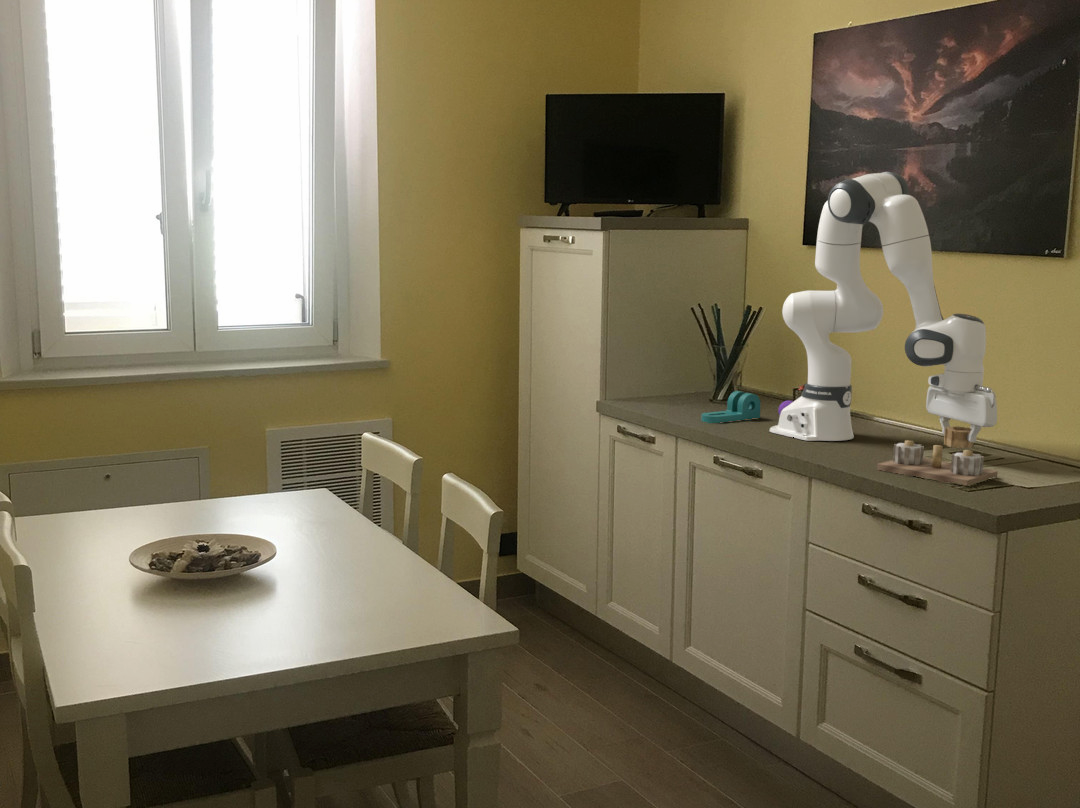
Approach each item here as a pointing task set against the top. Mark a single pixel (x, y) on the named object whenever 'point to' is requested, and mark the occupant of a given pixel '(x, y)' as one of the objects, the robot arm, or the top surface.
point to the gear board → (934, 472)
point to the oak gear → (957, 437)
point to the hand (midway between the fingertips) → (958, 438)
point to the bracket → (736, 409)
